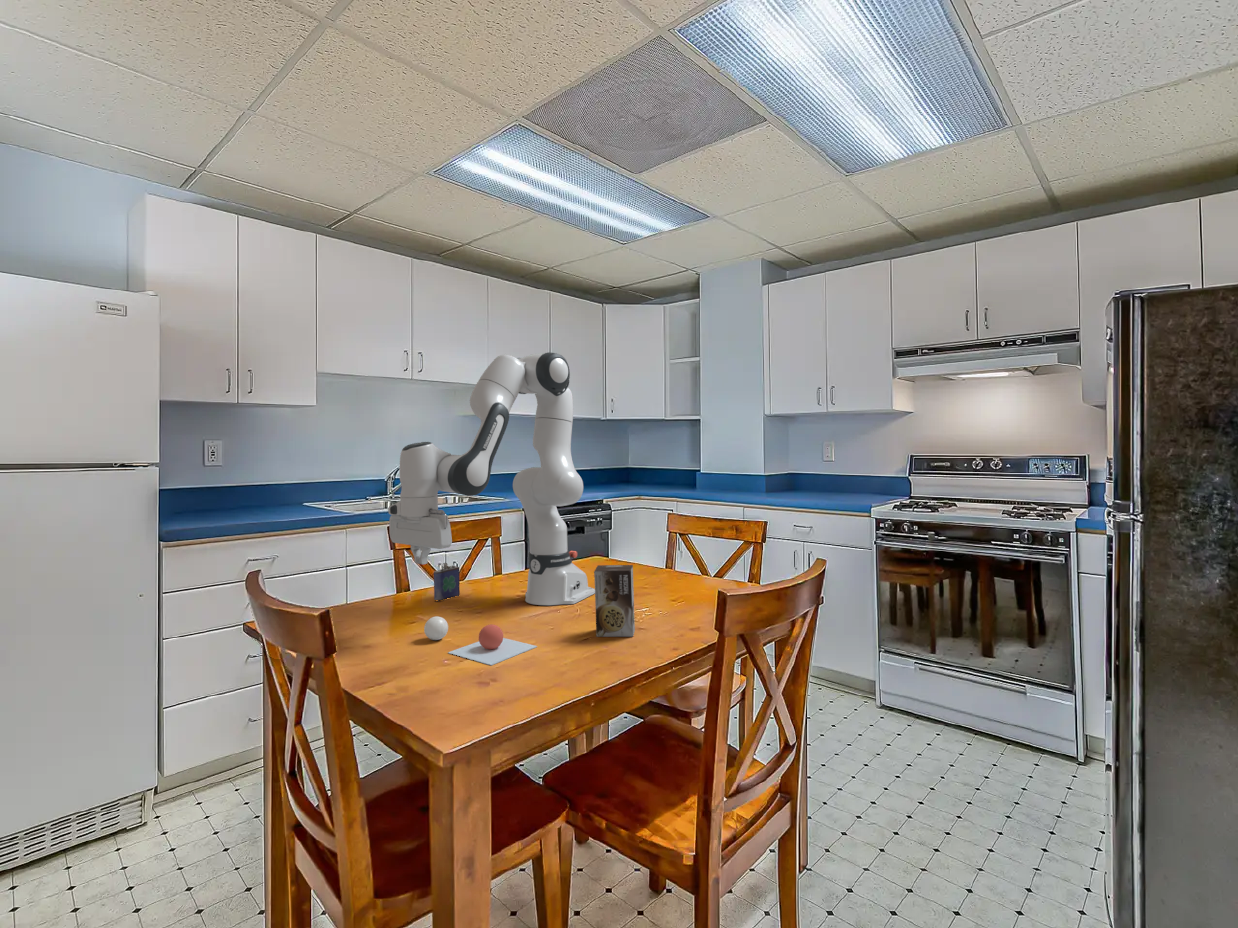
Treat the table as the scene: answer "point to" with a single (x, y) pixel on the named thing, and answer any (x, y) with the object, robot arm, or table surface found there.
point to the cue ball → (436, 628)
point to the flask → (446, 582)
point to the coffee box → (614, 601)
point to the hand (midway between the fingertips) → (421, 563)
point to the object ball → (490, 637)
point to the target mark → (492, 651)
